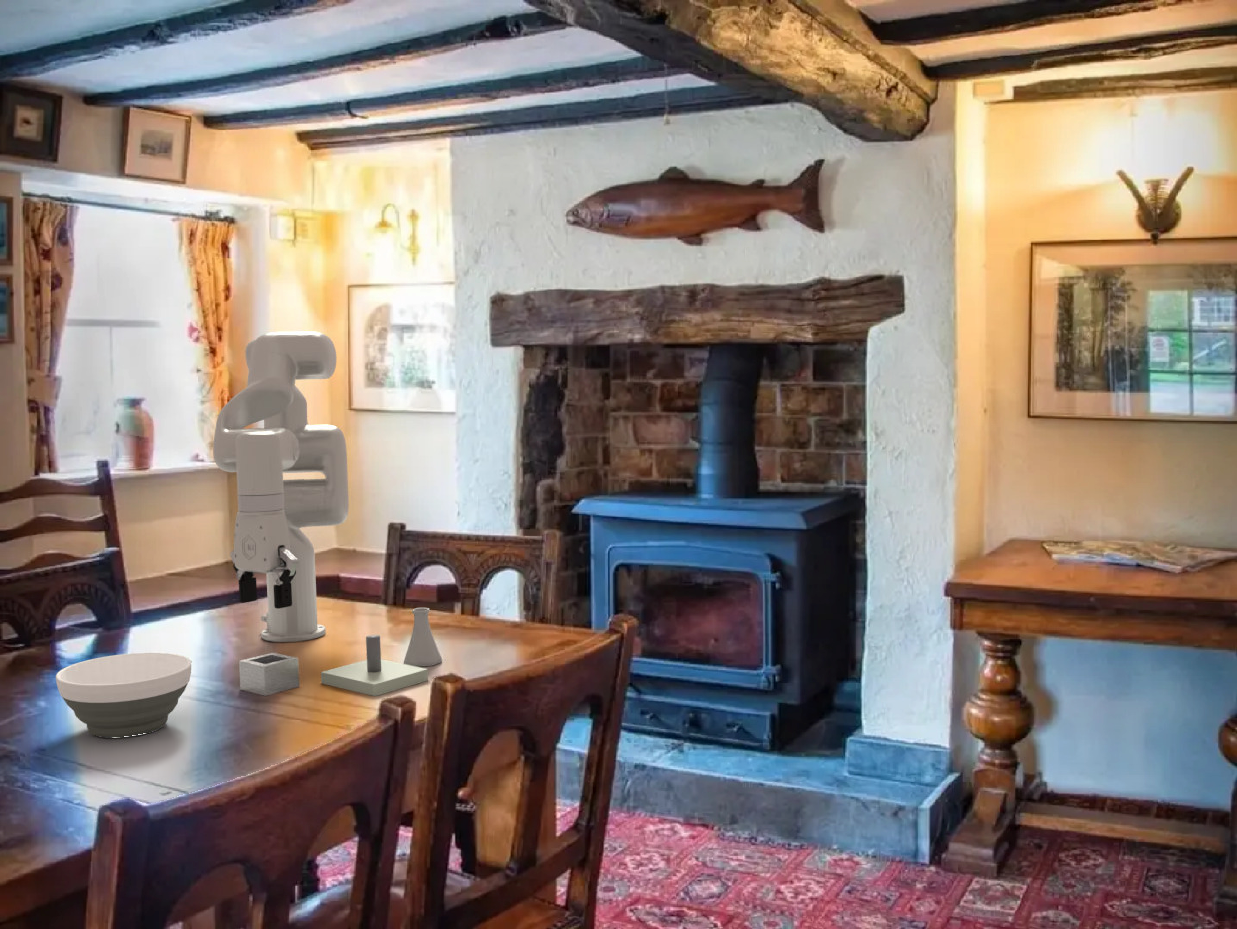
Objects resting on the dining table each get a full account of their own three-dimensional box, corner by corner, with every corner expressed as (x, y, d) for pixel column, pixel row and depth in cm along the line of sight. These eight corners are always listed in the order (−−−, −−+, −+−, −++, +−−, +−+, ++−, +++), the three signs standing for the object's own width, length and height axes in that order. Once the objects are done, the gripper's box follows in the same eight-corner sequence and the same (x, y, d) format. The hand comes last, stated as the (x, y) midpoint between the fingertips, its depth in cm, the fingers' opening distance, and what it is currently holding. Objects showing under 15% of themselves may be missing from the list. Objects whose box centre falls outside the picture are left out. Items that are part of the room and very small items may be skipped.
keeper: (321, 683, 222) (319, 638, 221) (374, 668, 231) (373, 625, 230) (374, 696, 213) (373, 649, 212) (428, 680, 223) (426, 635, 222)
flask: (434, 668, 231) (432, 613, 230) (396, 667, 232) (394, 613, 231) (448, 658, 238) (446, 605, 237) (411, 657, 239) (409, 604, 238)
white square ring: (240, 689, 219) (239, 660, 219) (274, 680, 224) (273, 652, 224) (265, 695, 215) (263, 666, 214) (299, 686, 220) (298, 658, 220)
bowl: (59, 756, 185) (55, 691, 184) (59, 720, 203) (55, 661, 202) (200, 737, 193) (197, 675, 192) (188, 704, 211) (185, 647, 210)
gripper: (212, 504, 219) (216, 602, 220) (274, 509, 208) (278, 613, 209) (249, 499, 225) (253, 596, 226) (311, 504, 214) (315, 606, 215)
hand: (265, 604), depth 218 cm, fingers open, 9 cm apart
